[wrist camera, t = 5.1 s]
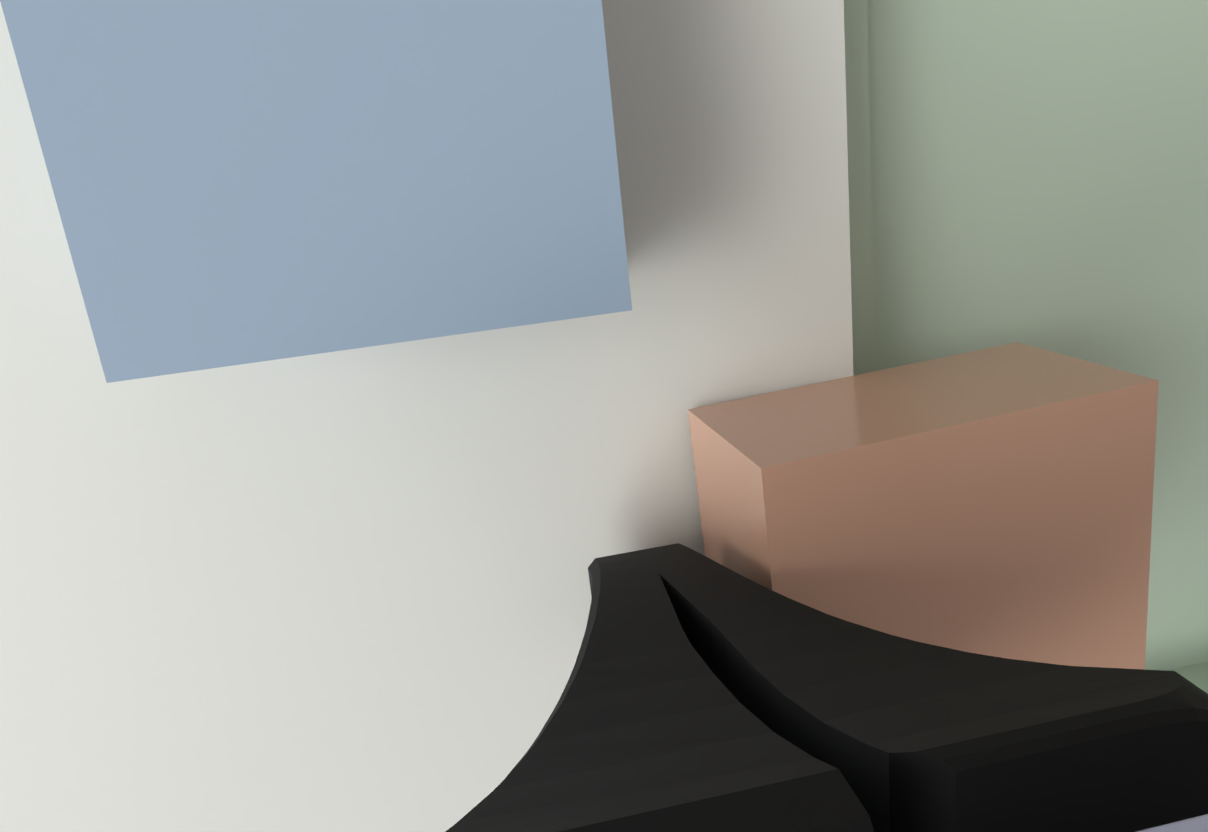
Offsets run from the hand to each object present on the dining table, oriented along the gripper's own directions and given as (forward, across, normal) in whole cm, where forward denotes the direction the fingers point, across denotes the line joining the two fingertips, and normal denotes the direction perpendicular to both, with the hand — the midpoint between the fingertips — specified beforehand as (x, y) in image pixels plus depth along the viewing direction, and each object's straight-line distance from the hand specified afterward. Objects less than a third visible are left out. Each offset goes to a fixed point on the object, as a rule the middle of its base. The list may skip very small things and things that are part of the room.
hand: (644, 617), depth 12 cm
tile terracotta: (+1, -4, 0) cm, 4 cm away
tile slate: (+1, +3, -7) cm, 8 cm away
